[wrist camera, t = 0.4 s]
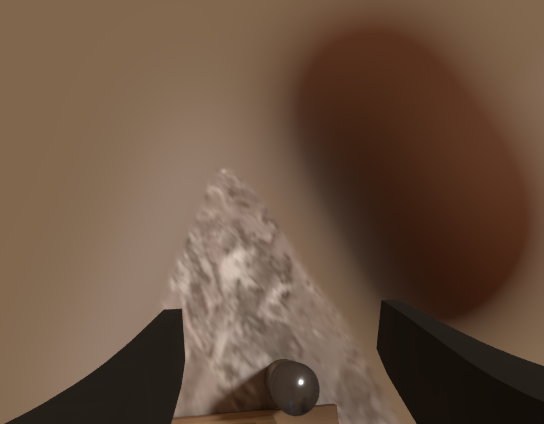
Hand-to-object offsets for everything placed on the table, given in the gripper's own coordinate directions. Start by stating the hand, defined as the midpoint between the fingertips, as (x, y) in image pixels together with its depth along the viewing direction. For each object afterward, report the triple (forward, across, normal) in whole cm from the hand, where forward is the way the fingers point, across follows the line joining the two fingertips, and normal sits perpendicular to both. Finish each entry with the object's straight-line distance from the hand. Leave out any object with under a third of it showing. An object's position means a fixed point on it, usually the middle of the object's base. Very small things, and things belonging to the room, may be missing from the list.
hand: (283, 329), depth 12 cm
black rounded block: (+18, -3, +18) cm, 26 cm away
